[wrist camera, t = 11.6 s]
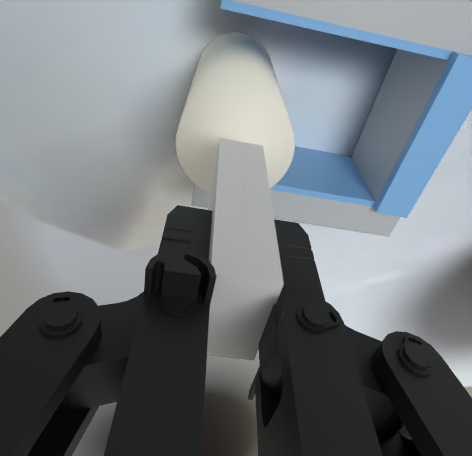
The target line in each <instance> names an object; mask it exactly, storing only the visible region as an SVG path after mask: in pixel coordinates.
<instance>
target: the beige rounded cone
mask: <svg viewBox="0 0 472 456" xmlns="http://www.w3.org/2000/svg"><path fill="white" fill-rule="evenodd" d="M220 138H224V139H229V140H235V141H240V142H246V143H251V144H257V145H262V146H263V149H264V156H265V163H266V169H267V176H268V182H269V189H270V188H271V187H273V186H274V185H275V184H276V183H278V181H279V180H280V179H281V178H282V177H283V176H284V174H285V173H286V172H287V170H288V168H289V166H290V164H291V162H292V159H293V155H294V149H295V137H294V132H293V128H292V125H291V122H290V119H289V116H288V113H287V109H286V106H285V103H284V100H283V97H282V94H281V91H280V88H279V85H278V81H277V78H276V75H275V72H274V69H273V66H272V63H271V60H270V57H269V54H268V52H267V51H266V49H265V48H264V46H263V45H262V44H261V43H260V42H259V41H258V40H256V39H255V38H253V37H252V36H250V35H247V34H244V33H238V32H231V33H226V34H223V35H220V36H218V37H216V38H215V39H213V40H212V41H211V42H210V43H209V44H208V45H207V46H206V47H205V49H204V50H203V52H202V54H201V56H200V59H199V62H198V65H197V69H196V72H195V75H194V78H193V81H192V85H191V88H190V91H189V94H188V98H187V101H186V104H185V107H184V110H183V114H182V117H181V120H180V123H179V126H178V130H177V134H176V153H177V157H178V161H179V163H180V165H181V167H182V169H183V171H184V173H185V174H186V175H187V177H188V178H189V179H190V180H191V181H192V182H193V183H194V184H195V185H196V186H198V187H199V188H201V189H202V190H204V191H205V192H208V193H210V191H211V186H212V180H213V175H214V169H215V164H216V158H217V153H218V147H219V142H220Z"/></svg>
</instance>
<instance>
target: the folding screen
mask: <svg viewBox="0 0 472 456" xmlns="http://www.w3.org/2000/svg"><path fill="white" fill-rule="evenodd" d="M220 9H224V10H229V11H233V12H237V13H242V14H246V15H251V16H255V17H259V18H264V19H268V20H273V21H277V22H282V23H286V24H290V25H295V26H299V27H304V28H308V29H312V30H317V31H321V32H326V33H330V34H335V35H339V36H343V37H348V38H352V39H357V40H361V41H365V42H370V43H374V44H379V45H383V46H388V47H392V48H396V49H397V50H396V52H395V55H394V57H393V59H392V62H391V64H390V66H389V69H388V71H387V74H386V76H385V78H384V81H383V83H382V85H381V88H380V90H379V92H378V95H377V97H376V99H375V102H374V104H373V106H372V109H371V111H370V114H369V116H368V118H367V121H366V123H365V125H364V128H363V130H362V132H361V135H360V137H359V139H358V142H357V144H356V146H355V149H354V151H353V153H352V156H351V157H348V156H343V155H337V154H332V153H327V152H321V151H316V150H310V149H305V148H300V147H295V149H294V155H293V159H292V162H291V164H290V166H289V168H288V170H287V172H286V173H285V174H284V176H283V177H282V178H281V179H280V180H279V181H278V183H276V184H275V185H274V186H273V187H271V188H270V196H271V202H272V209H273V216H274V218H275V219H281V220H287V221H293V222H300V223H306V224H312V225H318V226H325V227H331V228H337V229H343V230H350V231H356V232H362V233H368V234H375V235H381V236H387V237H389V236H390V234H391V232H392V231H393V229H394V227H395V225H396V224H397V222H398V220H399V218H400V217H405V218H407V217H408V215H409V213H410V211H411V210H412V208H413V206H414V205H415V203H416V201H417V200H418V198H419V196H420V195H421V193H422V191H423V190H424V188H425V186H426V184H427V183H428V181H429V179H430V178H431V176H432V174H433V173H434V171H435V169H436V168H437V166H438V164H439V163H440V161H441V159H442V157H443V156H444V154H445V152H446V151H447V149H448V147H449V146H450V144H451V142H452V141H453V139H454V137H455V135H456V134H457V132H458V130H459V129H460V127H461V125H462V124H463V122H464V120H465V119H466V117H467V115H468V114H469V112H470V110H471V108H472V0H222V1H221V8H220ZM209 197H210V193H208V192H205V191H204V190H202V189H201V188H199V187H198V186H196V185H195V184H194V191H193V197H192V204H191V205H193V206H200V207H206V208H208V202H209Z"/></svg>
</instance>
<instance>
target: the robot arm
mask: <svg viewBox="0 0 472 456" xmlns="http://www.w3.org/2000/svg"><path fill="white" fill-rule="evenodd" d="M145 272H146V273H145V287H144V292H142V293H141V294H140V295H139V296H137V297H135V298H133V299H130V300H128V301H125V302H121V303H115V304H108V305H101V306H97V304H96V303H95V302H94V300H93V299H91V298H89V297H88V296H86V295H84V294H81V293H75V292H61V293H54V294H51V295H48V296H46V297H43V298H41V299H39V300H38V301H36V302H35V303H34V304H33V305H31V306H30V307H29V308H27V309H26V310H25V312H24V313H23V314H22V315H21V316H20V317H19V318H18V319H17V320H16V321H15V322H14V323H13V324H12V325H11V326H10V328H9V329H8V330H7V331H6V332H5V333H4V334H3V335H2V336H1V337H0V456H72V454H73V452H74V451H75V449H76V447H77V445H78V443H79V442H80V440H81V438H82V436H83V434H84V433H85V431H86V429H87V427H88V426H89V424H90V422H91V420H92V418H93V417H94V415H95V413H96V411H97V409H98V408H99V406H100V405H104V404H109V403H112V402H117V405H116V410H115V414H114V417H113V422H112V425H111V429H110V433H109V438H108V441H107V445H106V449H105V453H104V456H201V441H202V423H203V408H204V392H205V376H206V359H207V355H210V356H219V357H228V358H238V359H247V360H254V359H255V356H256V354H257V351H258V349H259V359H260V366H259V368H258V371H257V373H256V376H255V378H254V381H253V383H252V385H251V388H250V390H249V396H248V399H249V400H252V399H253V397H254V395H255V394H256V395H255V396H256V416H257V438H258V456H472V398H471V397H470V395H469V394H468V392H467V391H466V390H465V388H464V387H463V385H462V384H461V383H460V381H459V380H458V379H457V377H456V376H455V375H454V373H453V372H452V371H451V369H450V368H449V366H448V365H447V364H446V362H445V361H444V360H443V358H442V357H441V356H440V355H439V353H438V352H437V351H436V350H435V349H434V348H433V347H432V346H431V345H430V344H428V343H427V342H425V341H424V340H422V339H421V338H420V337H417V336H415V335H412V334H410V333H407V332H397V331H396V332H393V333H390V334H387V336H386V337H385V339H384V340H383V341H379V340H377V339H374V338H372V337H369V336H367V335H364V334H362V333H359V332H357V331H355V330H353V329H351V328H349V327H347V326H346V325H344V322H343V320H342V318H341V316H340V314H339V313H338V312H337V311H336V310H335V309H334V308H333V307H332V305H331V304H329V303H327V302H325V298H324V294H323V291H322V287H321V283H320V279H319V275H318V271H317V268H316V264H315V261H314V256H313V252H312V250H311V245H310V241H309V237H308V235H307V233H306V232H305V231H304V230H303V228H302V227H301V226H300V225H299V223H294V222H287V221H281V220H275V219H274V216H273V209H272V202H271V196H270V189H269V182H268V176H267V169H266V163H265V156H264V149H263V146H262V145H257V144H251V143H246V142H240V141H235V140H229V139H224V138H220V142H219V147H218V153H217V158H216V164H215V169H214V175H213V180H212V186H211V191H210V197H209V202H208V210H204V209H198V208H191V207H185V206H179V205H178V206H176V207H175V208H174V209H173V210H172V211H171V212H170V213H169V214H168V215H167V219H166V223H165V228H164V232H163V236H162V240H161V244H160V248H159V252H158V255H156V256H155V257H153V258H152V259H151V260H150V261H149V263H148V265H147V267H146V271H145Z"/></svg>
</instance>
